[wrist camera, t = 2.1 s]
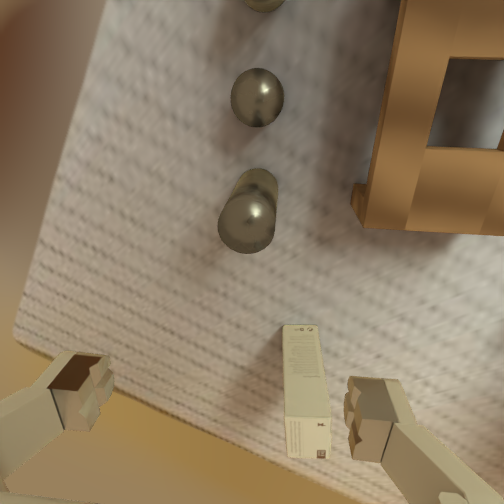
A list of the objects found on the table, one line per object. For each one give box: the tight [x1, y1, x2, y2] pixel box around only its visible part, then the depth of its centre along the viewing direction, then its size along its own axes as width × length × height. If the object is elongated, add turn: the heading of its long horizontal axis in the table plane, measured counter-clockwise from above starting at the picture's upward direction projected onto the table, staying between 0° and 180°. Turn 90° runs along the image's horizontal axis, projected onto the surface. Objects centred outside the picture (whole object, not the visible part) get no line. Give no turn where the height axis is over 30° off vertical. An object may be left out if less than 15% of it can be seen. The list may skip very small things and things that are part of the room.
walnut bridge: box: [350, 0, 504, 236], centre depth 24 cm, size 18×12×6 cm, turn 178°
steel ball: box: [231, 68, 284, 127], centre depth 26 cm, size 4×4×4 cm
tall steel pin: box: [218, 168, 278, 254], centre depth 27 cm, size 4×4×10 cm
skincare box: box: [282, 325, 332, 459], centre depth 34 cm, size 6×4×12 cm
